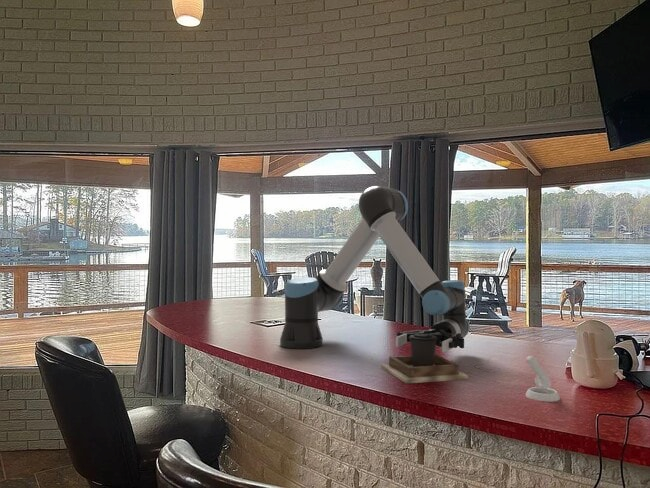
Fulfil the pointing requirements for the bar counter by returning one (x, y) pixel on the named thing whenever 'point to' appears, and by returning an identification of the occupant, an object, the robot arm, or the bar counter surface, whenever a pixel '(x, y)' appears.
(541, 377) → the white ring with rod
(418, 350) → the coffee cup
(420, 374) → the collar board
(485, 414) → the bar counter surface
